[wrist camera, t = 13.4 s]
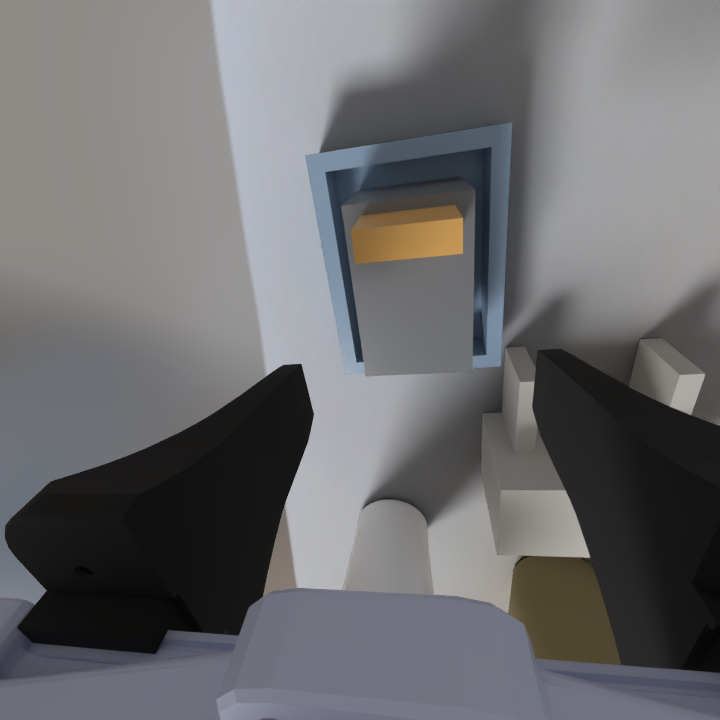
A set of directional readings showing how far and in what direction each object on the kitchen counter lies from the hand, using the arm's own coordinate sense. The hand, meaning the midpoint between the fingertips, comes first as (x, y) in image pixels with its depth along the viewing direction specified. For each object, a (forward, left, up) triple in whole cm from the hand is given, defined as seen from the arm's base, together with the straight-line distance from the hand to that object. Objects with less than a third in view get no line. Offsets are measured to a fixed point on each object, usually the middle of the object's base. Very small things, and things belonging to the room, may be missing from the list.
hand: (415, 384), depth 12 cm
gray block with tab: (0, -2, -9) cm, 9 cm away
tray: (0, -2, -9) cm, 10 cm away
